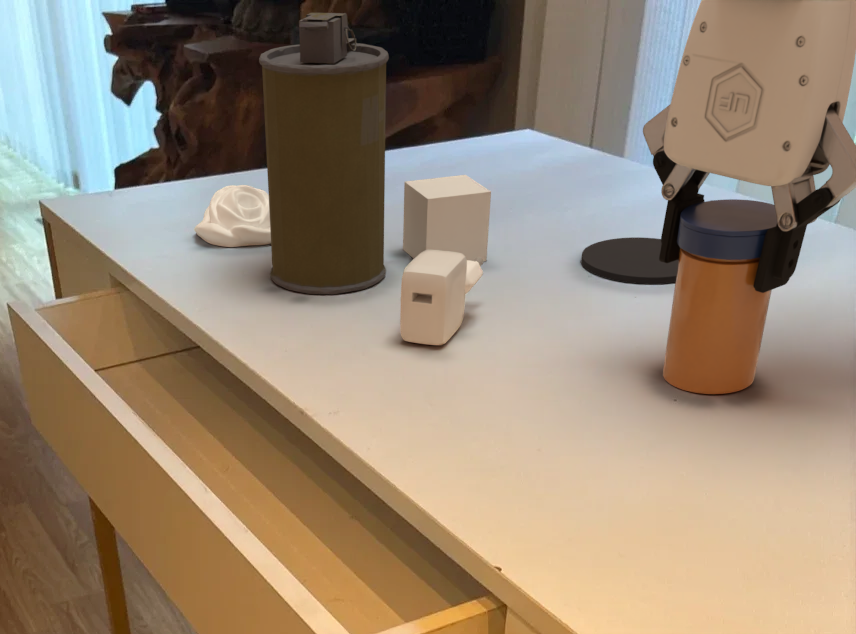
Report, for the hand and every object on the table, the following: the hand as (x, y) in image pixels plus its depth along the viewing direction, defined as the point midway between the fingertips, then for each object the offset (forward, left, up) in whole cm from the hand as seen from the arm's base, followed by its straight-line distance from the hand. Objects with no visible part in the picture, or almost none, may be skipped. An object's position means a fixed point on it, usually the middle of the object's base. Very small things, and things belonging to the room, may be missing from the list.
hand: (722, 270), depth 77 cm
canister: (+30, -20, -8) cm, 37 cm away
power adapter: (+19, -9, -8) cm, 23 cm away
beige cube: (+20, -26, -8) cm, 34 cm away
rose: (+40, -31, -8) cm, 52 cm away
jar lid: (0, 0, +3) cm, 3 cm away
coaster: (+2, -25, -8) cm, 26 cm away
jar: (-1, 0, -8) cm, 8 cm away
